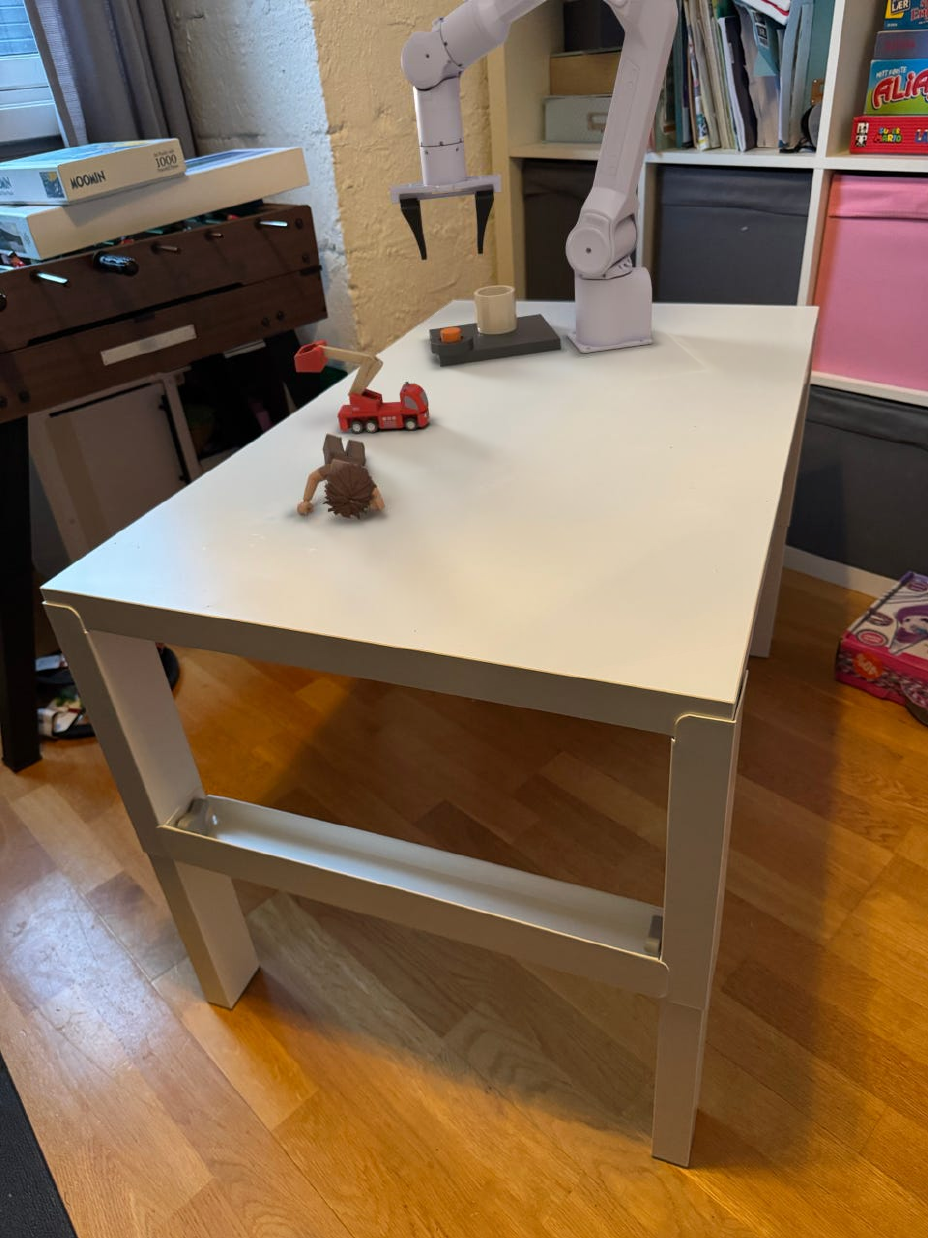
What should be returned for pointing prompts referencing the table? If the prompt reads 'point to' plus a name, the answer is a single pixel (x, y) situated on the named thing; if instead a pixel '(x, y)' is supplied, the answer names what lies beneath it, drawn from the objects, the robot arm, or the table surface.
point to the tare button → (450, 334)
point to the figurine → (343, 480)
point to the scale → (495, 342)
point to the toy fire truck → (367, 392)
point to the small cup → (495, 309)
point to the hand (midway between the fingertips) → (452, 255)
